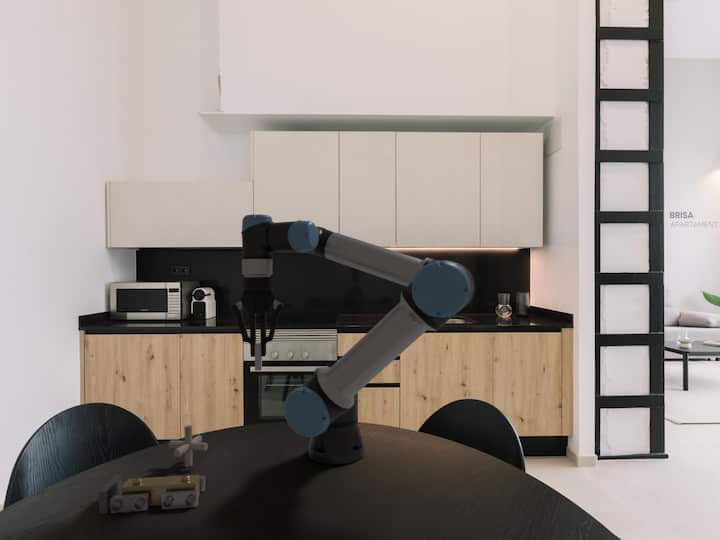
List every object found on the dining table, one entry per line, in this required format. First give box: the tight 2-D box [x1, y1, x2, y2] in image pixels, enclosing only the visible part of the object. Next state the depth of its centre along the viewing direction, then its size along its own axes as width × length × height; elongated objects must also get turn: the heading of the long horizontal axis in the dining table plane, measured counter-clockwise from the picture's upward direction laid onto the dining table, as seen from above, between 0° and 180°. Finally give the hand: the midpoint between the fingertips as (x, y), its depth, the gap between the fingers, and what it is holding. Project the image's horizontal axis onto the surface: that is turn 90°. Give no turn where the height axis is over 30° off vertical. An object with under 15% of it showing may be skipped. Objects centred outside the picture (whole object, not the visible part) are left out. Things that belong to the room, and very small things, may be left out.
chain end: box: [161, 475, 206, 511], centre depth 99 cm, size 7×9×3 cm
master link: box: [121, 474, 201, 507], centre depth 98 cm, size 15×4×5 cm, turn 97°
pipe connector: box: [168, 424, 209, 468], centre depth 116 cm, size 10×10×10 cm
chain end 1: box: [98, 474, 150, 515], centre depth 97 cm, size 9×9×4 cm
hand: (258, 369), depth 116 cm, fingers closed
